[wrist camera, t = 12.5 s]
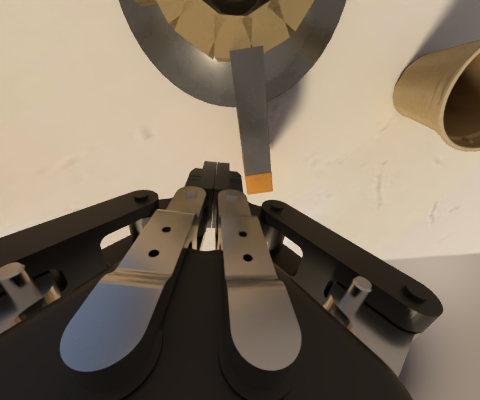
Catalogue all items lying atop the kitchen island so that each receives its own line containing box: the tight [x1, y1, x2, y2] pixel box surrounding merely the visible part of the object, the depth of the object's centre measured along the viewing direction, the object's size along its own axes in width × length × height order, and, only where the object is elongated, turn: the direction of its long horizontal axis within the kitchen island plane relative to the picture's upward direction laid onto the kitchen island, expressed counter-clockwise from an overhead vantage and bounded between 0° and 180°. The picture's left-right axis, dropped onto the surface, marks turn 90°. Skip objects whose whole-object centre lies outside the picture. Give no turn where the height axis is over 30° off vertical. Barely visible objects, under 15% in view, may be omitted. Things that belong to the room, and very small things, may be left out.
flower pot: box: [393, 40, 480, 151], centre depth 20 cm, size 9×9×9 cm
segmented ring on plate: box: [135, 0, 314, 194], centre depth 17 cm, size 16×24×6 cm, turn 28°
